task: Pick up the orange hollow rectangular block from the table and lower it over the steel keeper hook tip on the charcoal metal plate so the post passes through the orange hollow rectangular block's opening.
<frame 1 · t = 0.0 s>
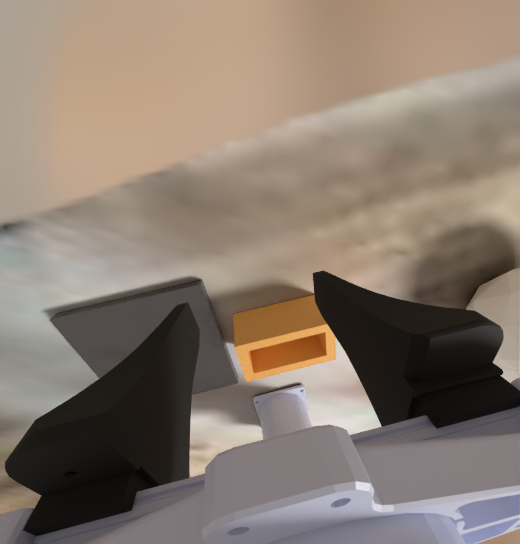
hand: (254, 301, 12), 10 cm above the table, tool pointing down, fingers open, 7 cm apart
keeper plate: (161, 349, 26), on the table
geodesic sphere: (486, 292, 30), on the table
orange hollow rectangular block: (278, 321, 26), on the table
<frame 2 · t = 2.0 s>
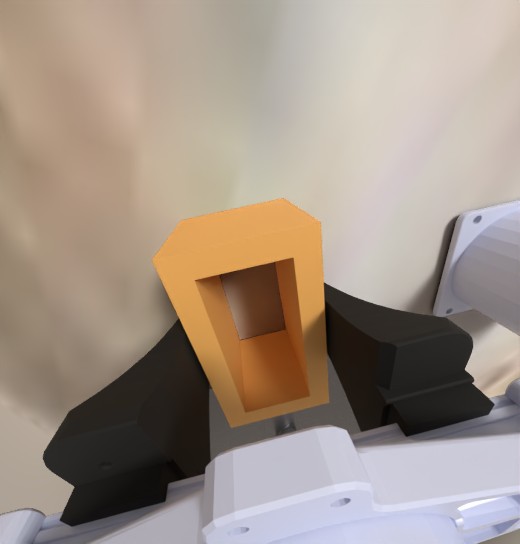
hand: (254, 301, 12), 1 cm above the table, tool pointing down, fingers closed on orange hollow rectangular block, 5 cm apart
keeper plate: (282, 414, 20), on the table
orange hollow rectangular block: (252, 288, 13), on the table, touching gripper
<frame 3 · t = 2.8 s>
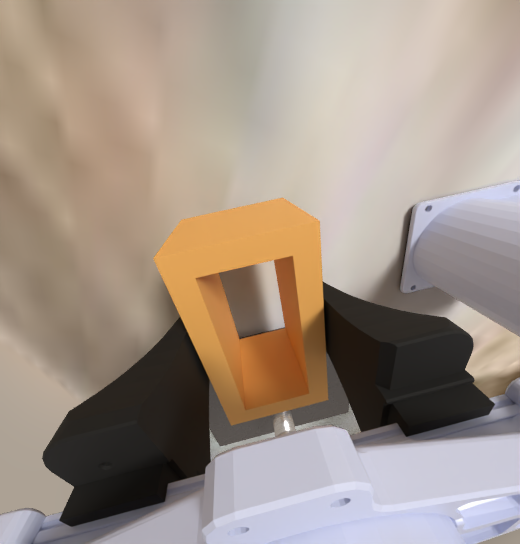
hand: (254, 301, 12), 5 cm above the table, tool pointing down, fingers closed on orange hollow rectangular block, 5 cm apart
keeper plate: (274, 383, 23), on the table
orange hollow rectangular block: (251, 287, 14), point 3 cm above the table, touching gripper
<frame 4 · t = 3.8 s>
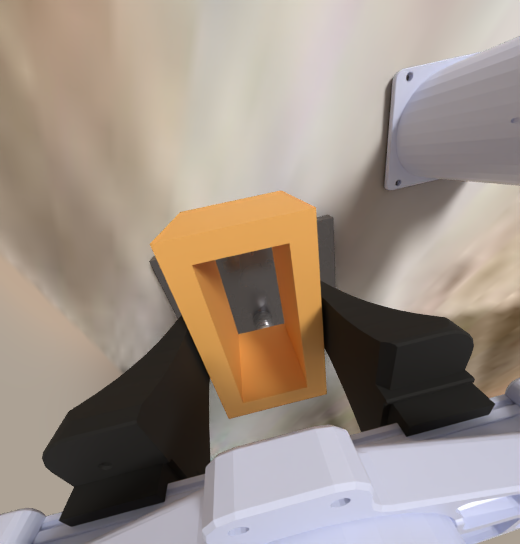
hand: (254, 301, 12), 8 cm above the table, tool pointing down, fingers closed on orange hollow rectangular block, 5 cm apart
keeper plate: (258, 302, 23), on the table
orange hollow rectangular block: (250, 281, 14), point 7 cm above the table, touching gripper
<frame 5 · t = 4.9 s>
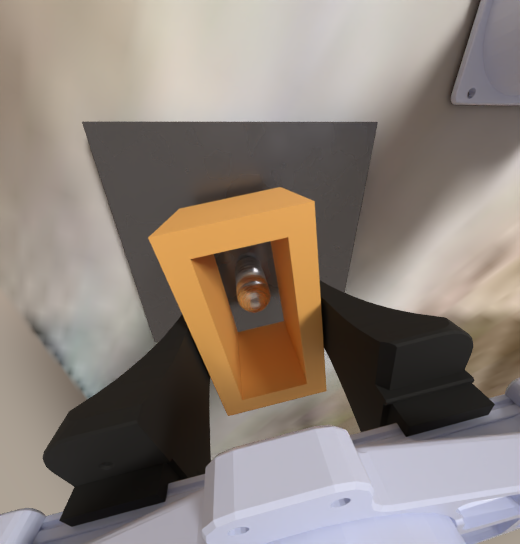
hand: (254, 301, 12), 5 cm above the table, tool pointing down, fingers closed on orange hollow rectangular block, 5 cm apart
keeper plate: (246, 245, 16), on the table
orange hollow rectangular block: (249, 279, 14), point 3 cm above the table, touching gripper
when the fingers open (4 cm above the table, at t = 5.6 s): orange hollow rectangular block drops 2 cm, resting on keeper plate.
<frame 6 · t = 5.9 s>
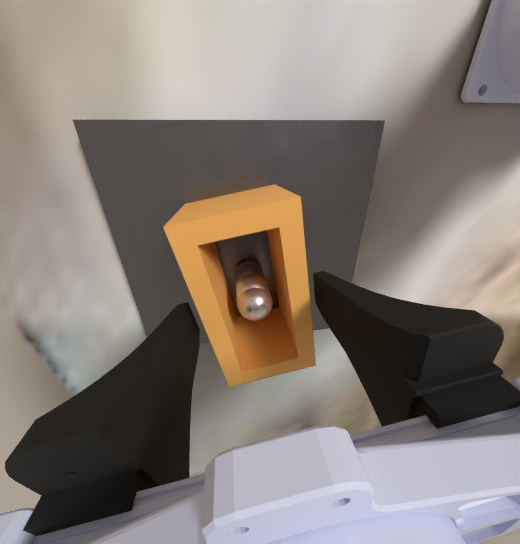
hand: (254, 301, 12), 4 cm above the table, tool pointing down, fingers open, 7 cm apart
keeper plate: (246, 249, 15), on the table
orange hollow rectangular block: (248, 267, 15), point 1 cm above the table, touching keeper plate
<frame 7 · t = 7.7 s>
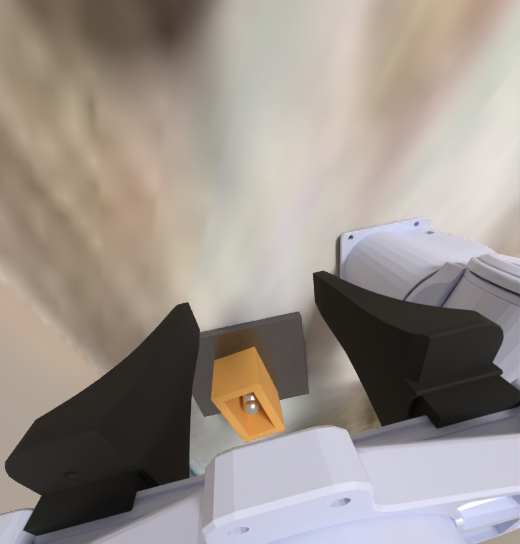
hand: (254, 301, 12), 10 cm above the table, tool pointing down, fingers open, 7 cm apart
keeper plate: (246, 366, 30), on the table
orange hollow rectangular block: (248, 377, 29), point 1 cm above the table, touching keeper plate
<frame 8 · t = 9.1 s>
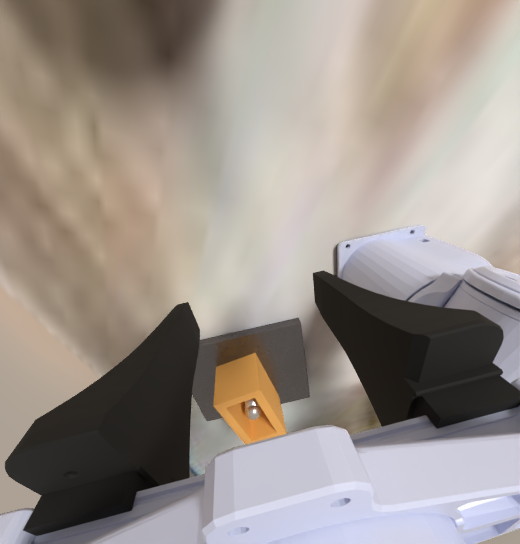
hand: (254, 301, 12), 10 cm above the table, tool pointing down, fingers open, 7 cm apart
keeper plate: (248, 371, 30), on the table
orange hollow rectangular block: (249, 382, 30), point 1 cm above the table, touching keeper plate
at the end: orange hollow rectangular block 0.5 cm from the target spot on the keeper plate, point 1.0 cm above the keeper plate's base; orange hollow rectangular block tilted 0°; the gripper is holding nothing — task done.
